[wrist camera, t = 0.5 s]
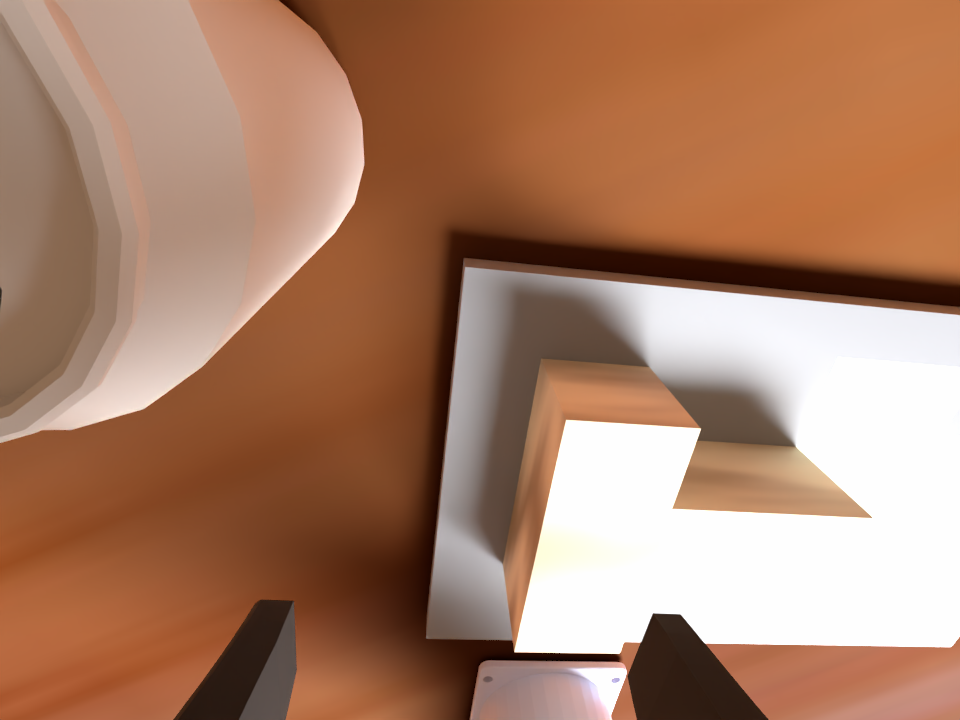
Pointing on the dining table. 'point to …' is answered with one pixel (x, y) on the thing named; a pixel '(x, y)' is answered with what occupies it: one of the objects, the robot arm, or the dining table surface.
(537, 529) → the block
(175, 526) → the dining table surface
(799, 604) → the board
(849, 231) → the dining table surface
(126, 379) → the can
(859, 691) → the dining table surface
